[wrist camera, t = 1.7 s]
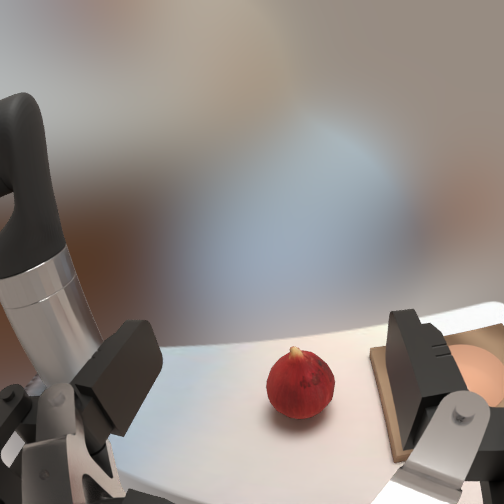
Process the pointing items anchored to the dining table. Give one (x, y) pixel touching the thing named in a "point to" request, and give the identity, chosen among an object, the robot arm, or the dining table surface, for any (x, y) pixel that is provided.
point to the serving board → (470, 365)
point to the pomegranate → (300, 384)
